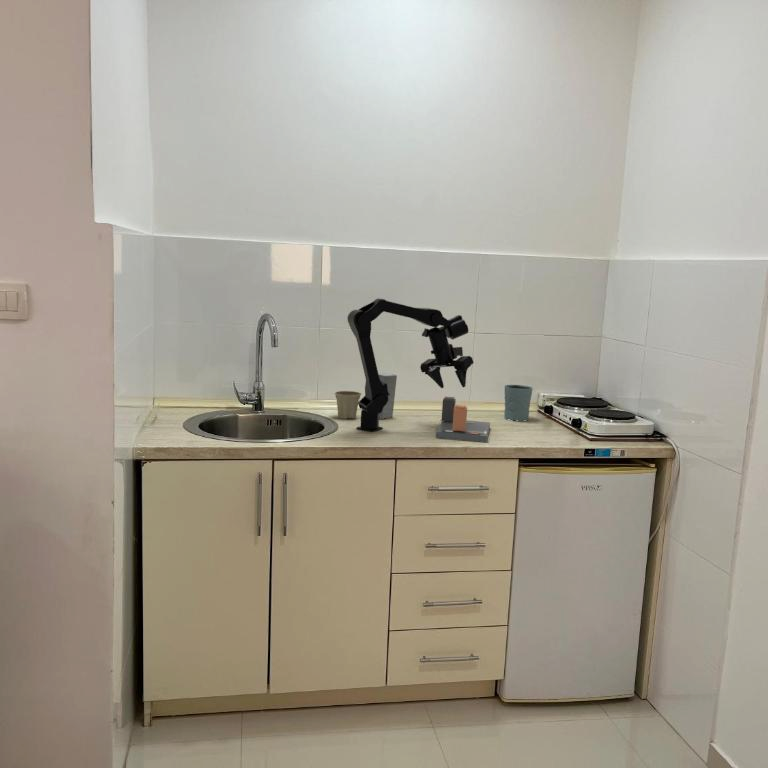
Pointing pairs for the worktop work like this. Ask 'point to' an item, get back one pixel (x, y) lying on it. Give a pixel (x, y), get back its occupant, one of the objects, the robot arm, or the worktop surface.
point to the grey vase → (391, 385)
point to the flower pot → (347, 403)
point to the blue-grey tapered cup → (517, 402)
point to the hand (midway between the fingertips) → (453, 387)
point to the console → (472, 432)
